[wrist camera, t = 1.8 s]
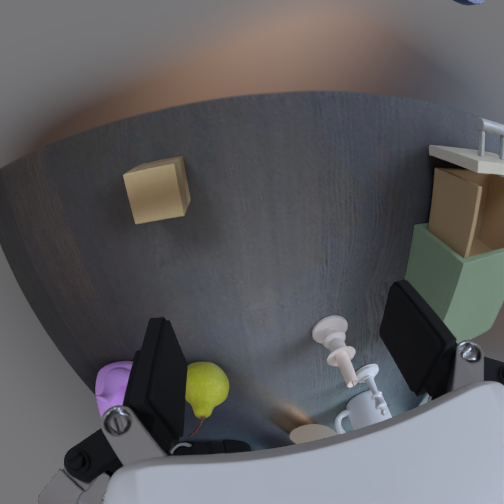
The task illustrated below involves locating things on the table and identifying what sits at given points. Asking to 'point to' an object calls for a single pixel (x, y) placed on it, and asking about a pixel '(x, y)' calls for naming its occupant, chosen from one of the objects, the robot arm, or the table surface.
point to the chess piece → (372, 384)
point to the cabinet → (456, 283)
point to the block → (158, 190)
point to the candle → (336, 345)
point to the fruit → (205, 388)
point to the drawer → (469, 196)
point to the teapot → (112, 384)
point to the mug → (361, 412)
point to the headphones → (210, 448)
